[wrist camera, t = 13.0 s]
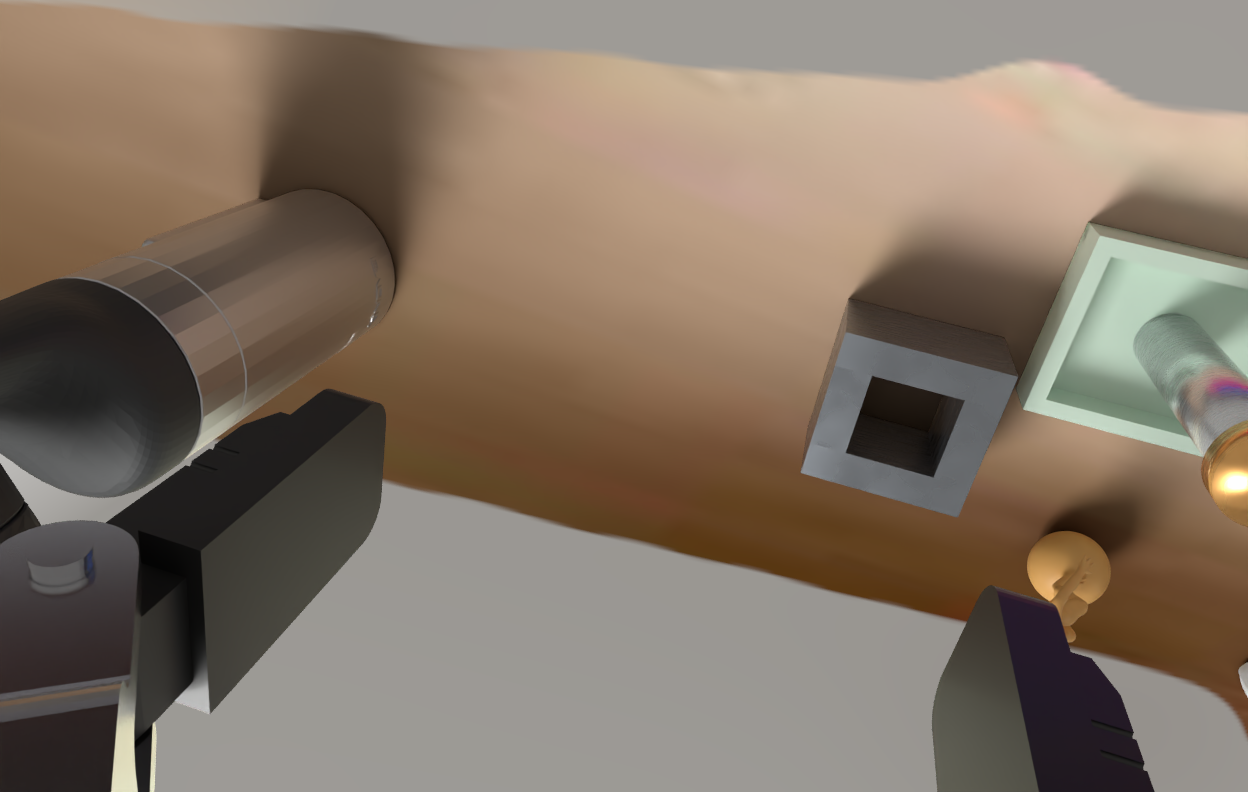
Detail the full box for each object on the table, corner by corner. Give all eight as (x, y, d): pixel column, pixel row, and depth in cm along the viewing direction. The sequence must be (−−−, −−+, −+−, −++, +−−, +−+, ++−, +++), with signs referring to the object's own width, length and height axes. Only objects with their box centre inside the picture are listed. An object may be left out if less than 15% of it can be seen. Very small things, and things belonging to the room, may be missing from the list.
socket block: (807, 429, 50) (800, 472, 45) (848, 298, 46) (845, 332, 42) (950, 468, 49) (957, 517, 44) (1004, 337, 45) (1018, 376, 40)
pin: (1143, 294, 42) (1246, 417, 30) (1232, 315, 41) (1372, 450, 30) (1107, 368, 44) (1191, 511, 32) (1191, 390, 43) (1308, 543, 32)
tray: (1015, 388, 46) (1022, 409, 44) (1088, 222, 42) (1100, 235, 39) (1239, 446, 44) (1258, 471, 42) (1338, 279, 40) (1364, 297, 38)
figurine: (1075, 614, 50) (1127, 782, 40) (966, 589, 51) (988, 747, 41) (1125, 492, 47) (1197, 642, 36) (1006, 468, 48) (1043, 607, 37)
